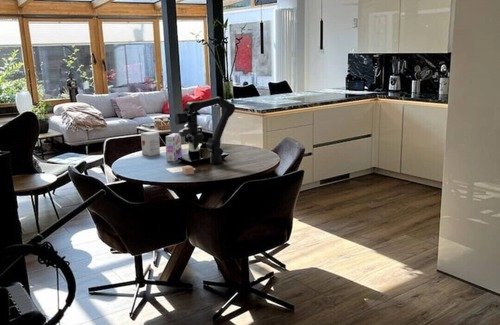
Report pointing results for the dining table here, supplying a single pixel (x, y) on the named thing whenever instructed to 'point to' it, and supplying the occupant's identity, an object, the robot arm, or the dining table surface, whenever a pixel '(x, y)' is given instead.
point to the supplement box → (150, 143)
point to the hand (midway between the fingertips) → (193, 148)
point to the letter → (175, 169)
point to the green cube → (191, 147)
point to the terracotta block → (188, 170)
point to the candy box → (173, 147)
